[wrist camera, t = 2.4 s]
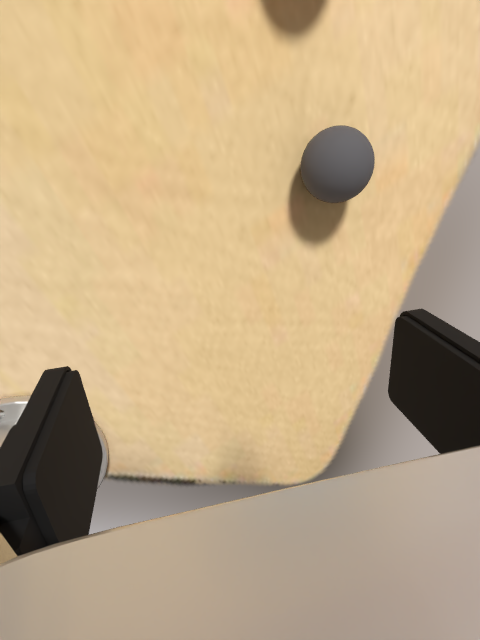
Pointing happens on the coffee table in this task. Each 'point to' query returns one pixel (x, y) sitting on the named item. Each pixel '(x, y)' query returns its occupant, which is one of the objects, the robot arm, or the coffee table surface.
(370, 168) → the grey ball
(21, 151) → the coffee table surface
